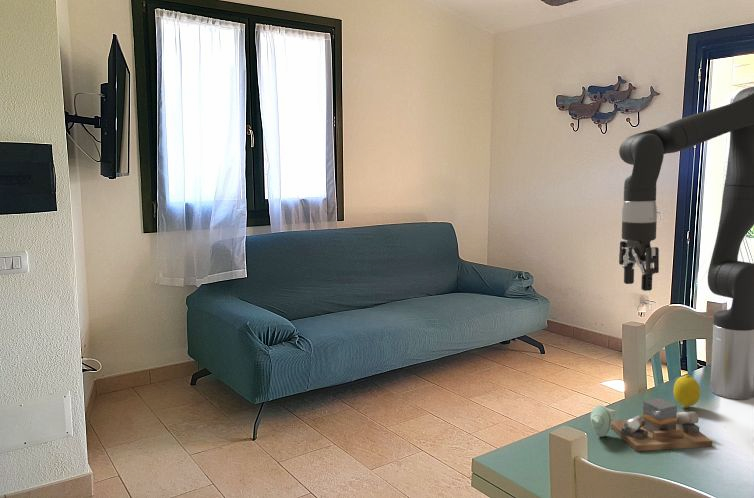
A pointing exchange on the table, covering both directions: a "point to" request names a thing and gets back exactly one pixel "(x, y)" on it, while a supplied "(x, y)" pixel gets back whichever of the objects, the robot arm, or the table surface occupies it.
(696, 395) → the lemon
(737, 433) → the table surface
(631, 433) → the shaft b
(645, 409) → the grey striped block
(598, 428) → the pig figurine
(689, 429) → the wooden assembly base
